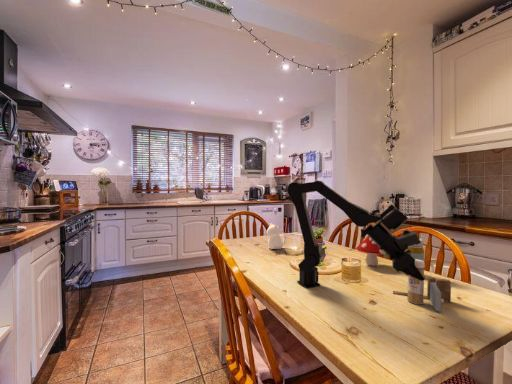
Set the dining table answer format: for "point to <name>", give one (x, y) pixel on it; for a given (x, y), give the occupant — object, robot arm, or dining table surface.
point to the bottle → (417, 251)
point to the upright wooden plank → (442, 285)
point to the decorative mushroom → (370, 251)
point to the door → (435, 296)
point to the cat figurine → (275, 237)
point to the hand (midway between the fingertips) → (421, 276)
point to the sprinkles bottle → (416, 285)
